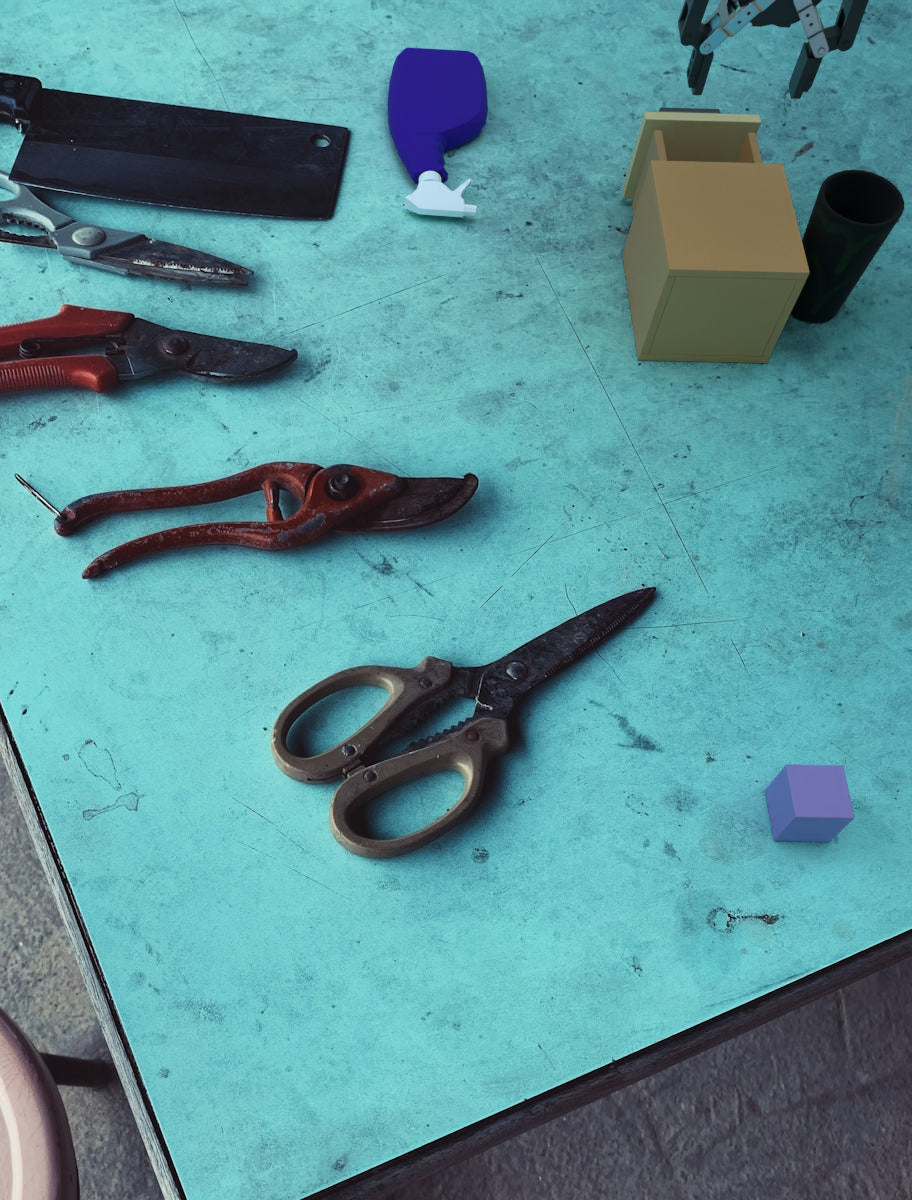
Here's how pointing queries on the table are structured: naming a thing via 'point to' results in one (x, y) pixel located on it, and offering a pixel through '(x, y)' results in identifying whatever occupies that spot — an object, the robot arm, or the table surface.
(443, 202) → the spray bottle
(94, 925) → the table surface
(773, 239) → the cabinet
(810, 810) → the violet matte cube
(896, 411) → the table surface
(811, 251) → the cup
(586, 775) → the table surface
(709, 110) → the drawer
